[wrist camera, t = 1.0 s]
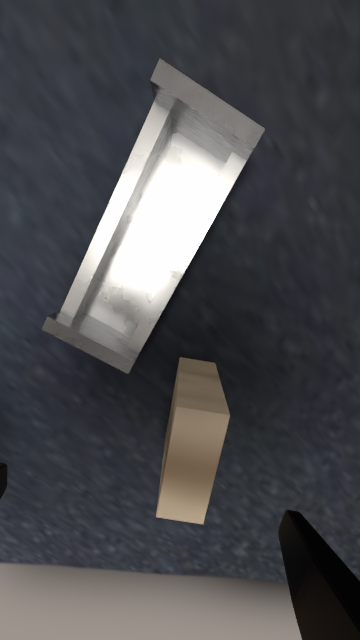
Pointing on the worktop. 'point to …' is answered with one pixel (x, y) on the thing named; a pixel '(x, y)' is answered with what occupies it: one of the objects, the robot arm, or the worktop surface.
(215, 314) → the worktop surface
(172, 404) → the door panel
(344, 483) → the worktop surface
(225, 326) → the worktop surface
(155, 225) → the bottom track
